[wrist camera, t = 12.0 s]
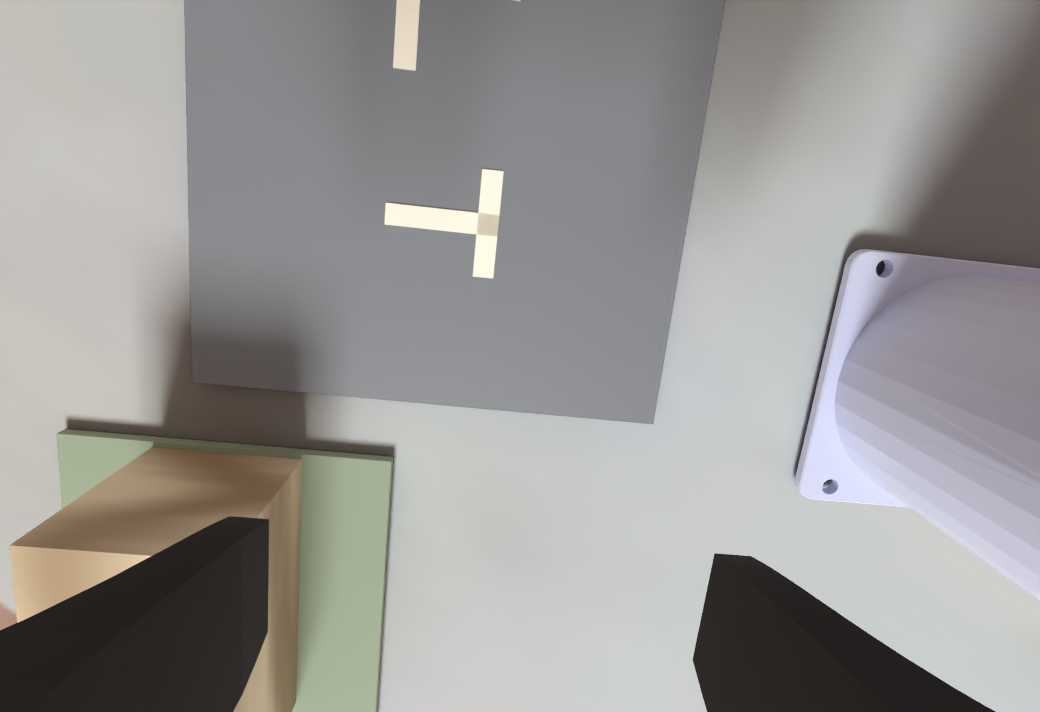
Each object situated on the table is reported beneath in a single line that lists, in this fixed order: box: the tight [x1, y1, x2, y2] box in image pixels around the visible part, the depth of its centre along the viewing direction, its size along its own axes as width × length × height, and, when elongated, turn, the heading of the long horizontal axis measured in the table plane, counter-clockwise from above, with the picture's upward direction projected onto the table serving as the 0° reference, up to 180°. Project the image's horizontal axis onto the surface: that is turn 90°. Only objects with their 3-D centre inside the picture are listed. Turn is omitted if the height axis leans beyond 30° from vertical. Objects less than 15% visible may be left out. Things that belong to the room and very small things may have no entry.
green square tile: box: [57, 429, 393, 712], centre depth 20 cm, size 10×10×1 cm
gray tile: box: [184, 0, 725, 424], centre depth 17 cm, size 14×16×1 cm
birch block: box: [10, 447, 302, 712], centre depth 17 cm, size 4×9×6 cm, turn 174°
